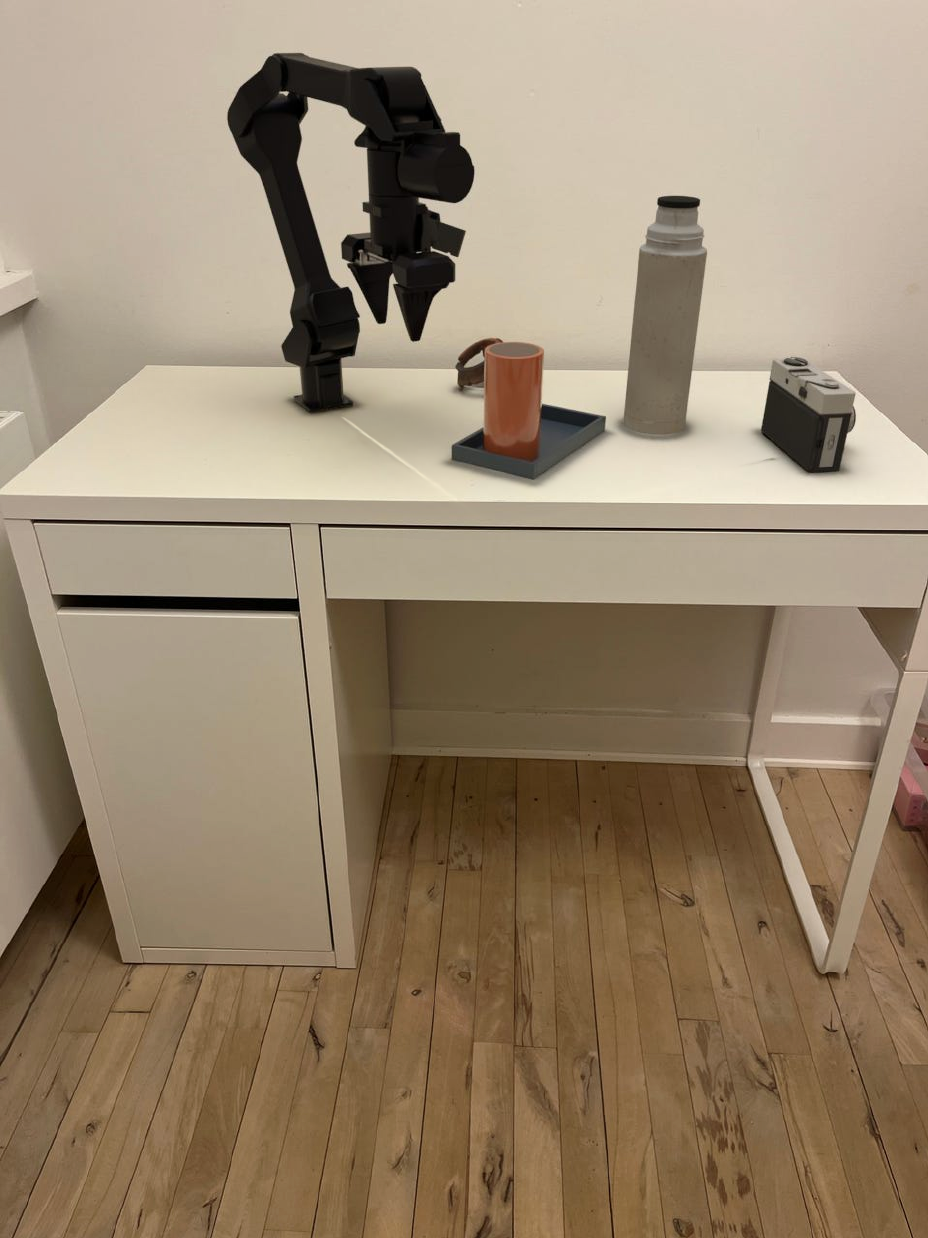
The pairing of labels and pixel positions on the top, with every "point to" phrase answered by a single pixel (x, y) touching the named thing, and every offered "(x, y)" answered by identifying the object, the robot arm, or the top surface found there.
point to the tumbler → (513, 399)
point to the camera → (808, 414)
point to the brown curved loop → (475, 372)
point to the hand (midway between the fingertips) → (398, 331)
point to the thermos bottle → (665, 318)
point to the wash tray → (557, 442)
